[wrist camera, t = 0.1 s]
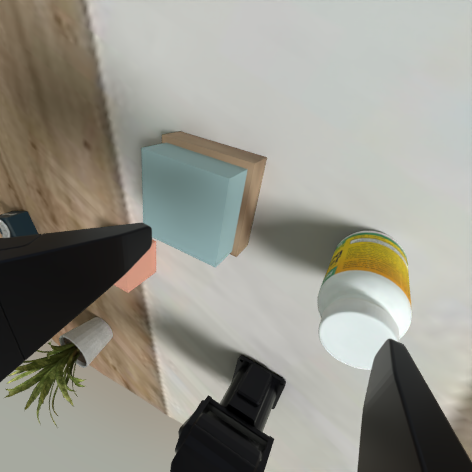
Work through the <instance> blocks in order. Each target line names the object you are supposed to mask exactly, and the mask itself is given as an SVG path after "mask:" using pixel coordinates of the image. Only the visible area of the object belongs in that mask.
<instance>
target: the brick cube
mask: <svg viewBox="0 0 472 472" xmlns="http://www.w3.org/2000/svg"><path fill="white" fill-rule="evenodd" d="M155 272H156V241H154V240H152V246H151V248H150V249H149V250H148V251H147V252H146V253H145V254H144V255H143V256H142V258H141V259H140V260H139V261H138V262H137V263H136V264H135V265H134V266H133V267H132V268H131V269H130V270H129V271H128V272H127V273H126V274H125V275H124V276H123V277H122V278H121V279H120V280H118V281H117V282H116V283H115V284H114V285H115V286H117V287H119V288H121V289H122V290H124V291H126V292H127V293H129V292H130V291H131V290H133V289H134V288H135V287H137V286H138V285H139V284H141V283H142V282H143V281H145V280H146V279H147V278H149V277H150V276H151V275H153V274H154V273H155Z"/></svg>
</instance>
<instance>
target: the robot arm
mask: <svg viewBox="0 0 472 472" xmlns="http://www.w3.org/2000/svg"><path fill="white" fill-rule="evenodd" d="M151 246H152V228H151V227H150V226H149V225H147V224H144V223H134V224H126V225H117V226H108V227H99V228H90V229H81V230H73V231H64V232H55V233H46V234H37V235H28V236H18V237H7V238H0V382H1V381H2V380H3V379H4V378H6V377H7V376H8V375H9V374H10V373H11V372H13V371H14V370H15V369H16V368H17V367H18V366H19V365H21V364H22V363H23V362H24V361H25V360H26V359H27V358H28V357H30V356H31V355H32V354H33V353H34V352H36V351H37V350H38V349H39V348H40V347H41V346H43V345H44V344H45V343H46V342H47V341H48V340H50V339H51V338H52V337H53V336H54V335H55V334H57V333H58V332H59V331H60V330H61V329H62V328H64V327H65V326H66V325H67V324H68V323H69V322H71V321H72V320H73V319H74V318H75V317H76V316H78V315H79V314H80V313H81V312H82V311H83V310H85V309H86V308H87V307H88V306H89V305H90V304H92V303H93V302H94V301H95V300H96V299H97V298H99V297H100V296H101V295H102V294H103V293H104V292H106V291H107V290H108V289H109V288H110V287H111V286H113V285H114V284H115V283H116V282H117V281H118V280H120V279H121V278H122V277H123V276H124V275H125V274H126V273H127V272H128V271H129V270H130V269H131V268H132V267H133V266H134V265H135V264H136V263H137V262H138V261H139V260H140V259H141V258H142V256H143V255H144V254H145V253H146V252H147V251H148V250H149V249H150V248H151ZM285 384H286V381H285V380H284V379H282V378H281V377H279V376H277V375H276V374H274V373H272V372H270V371H269V370H267V369H265V368H263V367H262V366H260V365H258V364H256V363H255V362H253V361H251V360H250V359H248V358H246V357H244V356H242V355H241V356H240V357H239V358H238V361H237V365H236V369H235V373H234V376H233V380H232V383H231V385H230V386H229V388H228V390H227V392H226V393H225V395H224V397H223V399H222V400H221V402H220V404H219V403H218V402H216V401H215V400H213V399H212V397H210V396H207V398H206V399H205V400H202V401H201V403H200V404H199V406H198V408H197V409H196V411H195V412H194V413H193V415H192V416H191V417H190V418H189V419H188V420H187V421H186V422H185V423H184V424H183V425H182V426H181V428H180V429H179V439H178V443H177V445H176V448H175V452H176V455H175V457H174V459H173V461H172V463H171V470H170V472H264V470H265V467H266V463H267V460H268V457H269V454H270V451H271V448H272V444H273V441H274V438H272V437H271V436H270V437H269V436H268V435H266V434H265V433H263V429H264V427H265V424H266V422H267V419H268V416H269V414H270V411H271V409H274V408H275V406H276V404H277V402H278V400H279V397H280V395H281V393H282V391H283V389H284V387H285ZM357 472H472V462H471V460H470V458H469V457H468V455H467V453H466V451H465V450H464V448H463V446H462V444H461V443H460V441H459V439H458V437H457V436H456V434H455V432H454V431H453V429H452V427H451V425H450V424H449V422H448V420H447V418H446V417H445V415H444V413H443V411H442V410H441V408H440V406H439V404H438V403H437V401H436V399H435V397H434V396H433V394H432V392H431V390H430V389H429V387H428V385H427V383H426V382H425V380H424V378H423V377H422V375H421V373H420V371H419V370H418V368H417V366H416V364H415V363H414V361H413V359H412V357H411V356H410V354H409V352H408V350H407V349H406V347H405V346H404V345H403V344H402V343H400V342H397V341H395V340H393V339H387V340H386V341H385V343H384V344H383V345H382V347H381V348H380V349H379V351H378V352H377V354H376V355H375V357H374V360H373V364H372V369H371V374H370V378H369V383H368V387H367V392H366V397H365V401H364V407H363V414H362V424H361V436H360V448H359V460H358V471H357Z"/></svg>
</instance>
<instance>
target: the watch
mask: <svg viewBox="0 0 472 472" xmlns="http://www.w3.org/2000/svg"><path fill="white" fill-rule="evenodd" d="M0 232H1V234H2V236H3V238H7V237H18V236H28V235H37V234H38V232H37V230H36V228H35V226H34V224H33V222H32V220H31V218H30V216H29V214H28V212H27V211H11V212H8V213H5V214H1V215H0Z"/></svg>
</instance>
